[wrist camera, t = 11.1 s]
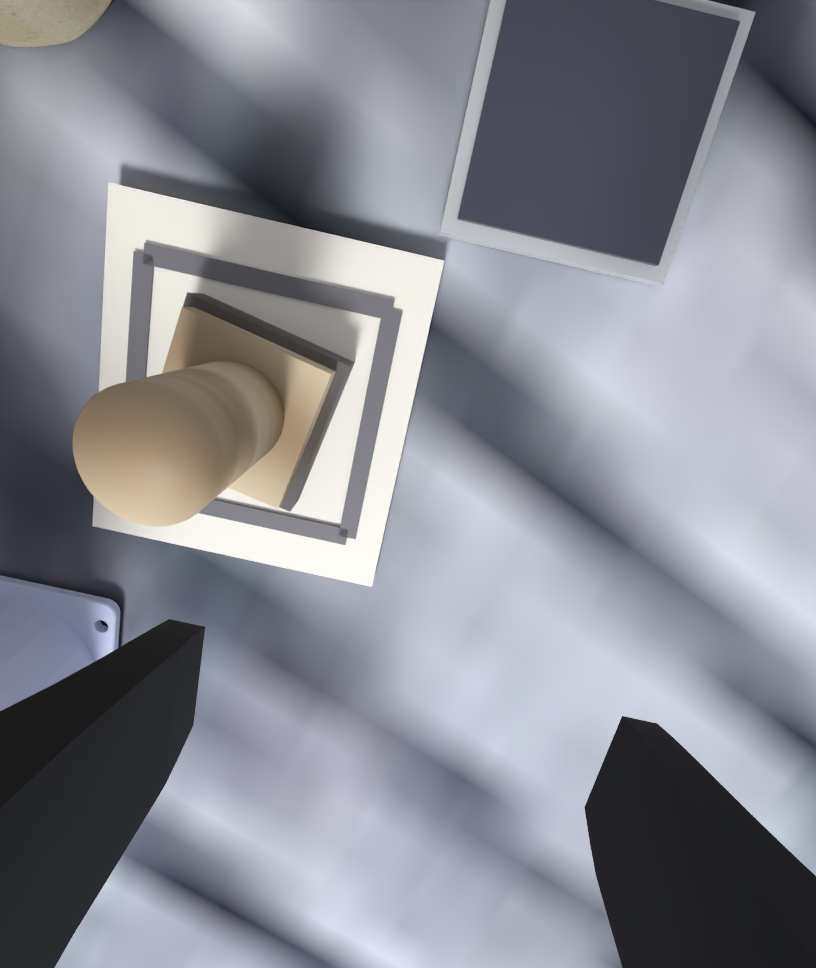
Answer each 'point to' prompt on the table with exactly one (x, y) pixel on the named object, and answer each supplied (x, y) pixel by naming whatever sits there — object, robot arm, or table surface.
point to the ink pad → (592, 129)
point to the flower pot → (47, 20)
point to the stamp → (211, 419)
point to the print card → (300, 311)
